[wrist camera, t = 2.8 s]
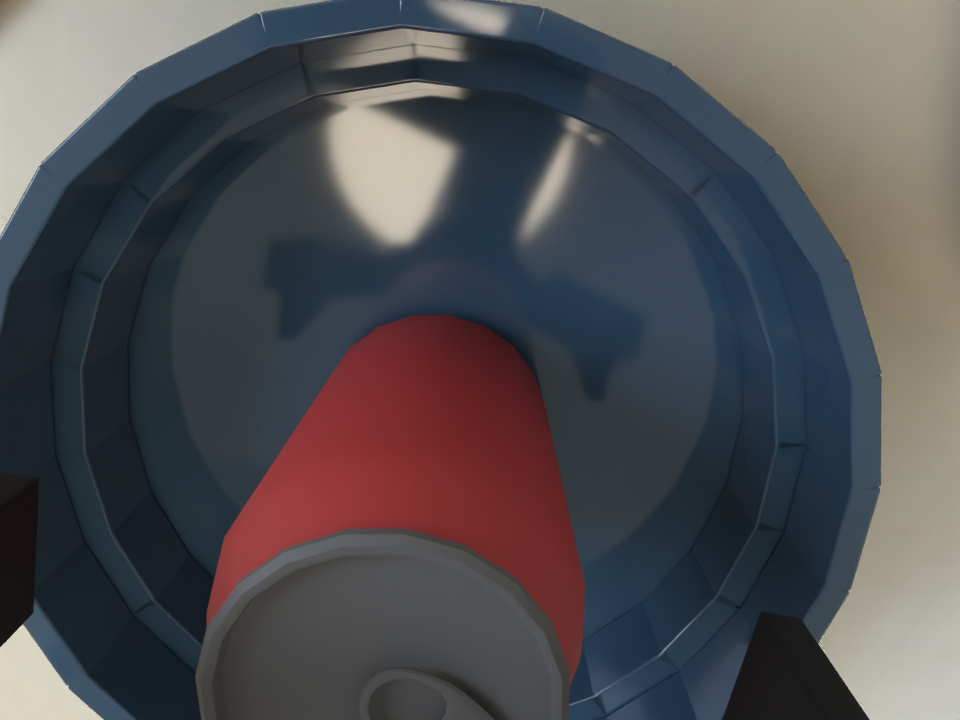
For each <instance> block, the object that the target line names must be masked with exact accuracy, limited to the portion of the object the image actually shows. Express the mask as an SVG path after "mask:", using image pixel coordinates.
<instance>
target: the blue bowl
mask: <svg viewBox="0 0 960 720" xmlns="http://www.w3.org/2000/svg"><path fill="white" fill-rule="evenodd" d="M41 164H42V165H40V166H39V167H38V169H37V171H36V172H35V174H34V176H33V178H32V180H31V181H30V183H29V185H28V187H27V189H26V190H25V192H24V194H23V196H22V198H21V200H20V201H19V203H18V205H17V207H16V209H15V210H14V212H13V214H12V216H11V218H10V219H9V221H8V223H7V225H6V227H5V229H4V230H3V232H2V234H1V236H0V471H1V472H6V473H11V474H17V475H22V476H28V477H33V478H39V501H38V523H37V545H36V568H35V590H34V613H33V614H32V615H31V616H30V617H29V618H28V619H27V620H26V621H25V622H24V623H23V625H24V626H25V628H26V629H27V630H28V632H29V633H30V635H31V636H32V638H33V639H34V640H35V642H36V643H37V645H38V646H39V647H40V649H41V650H42V652H43V653H44V655H45V656H46V657H47V659H48V660H49V662H50V663H51V664H52V666H53V667H54V669H55V670H56V672H57V673H58V674H59V676H60V677H61V679H62V680H63V681H64V683H65V684H66V685H67V686H69V687H68V688H69V689H70V690H71V691H72V692H73V693H74V694H75V695H76V696H78V697H79V698H80V699H81V700H82V701H83V702H84V703H85V704H87V705H88V706H89V707H90V708H91V709H92V710H93V711H95V712H96V713H97V714H98V715H99V716H100V717H101V718H102V719H104V720H201V715H200V708H199V701H198V694H197V687H196V680H195V674H196V670H197V666H198V662H199V658H200V653H201V649H202V645H203V641H204V637H205V633H206V628H207V614H206V613H207V608H208V604H209V600H210V595H211V591H212V587H213V582H214V578H215V574H216V570H217V566H218V561H219V557H220V553H221V549H222V545H223V540H224V537H225V535H226V534H227V532H228V531H229V529H230V528H231V526H232V525H233V523H234V521H235V520H236V518H237V517H238V515H239V514H240V512H241V511H242V509H243V508H244V506H245V505H246V503H247V502H248V500H249V499H250V497H251V496H252V494H253V493H254V491H255V490H256V488H257V487H258V485H259V484H260V482H261V481H262V479H263V477H264V476H265V474H266V473H267V471H268V470H269V468H270V467H271V465H272V464H273V462H274V461H275V459H276V458H277V456H278V455H279V453H280V452H281V450H282V449H283V447H284V446H285V444H286V443H287V441H288V440H289V438H290V437H291V435H292V433H293V432H294V430H295V429H296V427H297V426H298V424H299V423H300V421H301V420H302V418H303V417H304V415H305V414H306V412H307V411H308V409H309V408H310V406H311V405H312V403H313V402H314V400H315V399H316V397H317V396H318V394H319V393H320V391H321V389H322V388H323V386H324V385H325V383H326V382H327V380H328V379H329V377H330V376H331V374H332V373H333V371H334V370H335V368H336V367H337V366H338V364H339V363H340V361H341V360H342V358H343V357H344V355H345V354H346V352H347V351H348V349H349V348H350V347H351V346H353V345H354V344H355V343H357V342H358V341H359V340H361V339H362V338H363V337H365V336H366V335H367V334H369V333H370V332H371V331H373V330H374V329H375V328H377V327H378V326H381V325H384V324H387V323H390V322H393V321H396V320H399V319H402V318H405V317H408V316H411V315H451V316H454V317H457V318H460V319H464V320H467V321H470V322H474V323H477V324H480V325H483V326H485V327H486V328H488V329H489V330H491V331H492V332H494V333H495V334H497V335H498V336H499V337H501V338H502V339H504V340H505V341H507V342H508V343H510V344H511V345H512V346H514V348H515V349H516V350H517V352H518V353H519V354H520V356H521V357H522V358H523V360H524V361H525V362H526V364H527V365H528V366H529V368H530V369H531V370H532V372H533V373H534V375H535V378H536V381H537V384H538V387H539V390H540V393H541V396H542V399H543V402H544V405H545V409H546V413H547V418H548V422H549V427H550V431H551V435H552V440H553V444H554V449H555V453H556V458H557V462H558V467H559V471H560V475H561V480H562V484H563V489H564V493H565V498H566V502H567V506H568V511H569V515H570V520H571V524H572V529H573V533H574V538H575V542H576V546H577V551H578V555H579V560H580V564H581V569H582V573H583V577H584V582H585V601H584V633H583V642H582V649H581V656H580V662H579V664H578V667H577V669H576V672H575V674H574V677H573V679H572V682H571V684H570V687H569V720H722V718H723V716H724V713H725V710H726V707H727V704H728V702H729V699H730V696H731V693H732V690H733V688H734V685H735V682H736V679H737V676H738V674H739V671H740V668H741V665H742V662H743V660H744V657H745V654H746V651H747V648H748V646H749V643H750V640H751V637H752V634H753V632H754V629H755V626H756V623H757V620H758V618H759V615H760V612H761V611H764V612H769V613H774V614H780V615H785V616H791V617H796V618H801V619H802V621H803V622H804V624H805V625H806V627H807V628H808V630H809V631H810V633H811V634H812V636H813V637H814V639H815V640H816V642H817V643H819V641H820V639H821V638H822V636H823V635H824V633H825V631H826V630H827V628H828V626H829V625H830V623H831V622H832V620H833V618H834V617H835V615H836V614H837V612H838V610H839V609H840V607H841V606H842V604H843V602H844V601H845V599H846V597H847V596H848V594H849V590H850V589H851V587H852V583H853V580H854V577H855V573H856V570H857V567H858V563H859V560H860V557H861V553H862V550H863V546H864V543H865V540H866V536H867V533H868V530H869V526H870V523H871V519H872V516H873V513H874V509H875V506H876V503H877V499H878V496H879V492H880V488H879V487H880V485H881V376H880V374H881V370H880V366H879V363H878V359H877V356H876V353H875V349H874V346H873V342H872V339H871V336H870V332H869V329H868V325H867V322H866V318H865V315H864V312H863V308H862V305H861V301H860V298H859V295H858V291H857V288H856V284H855V281H854V278H853V274H852V271H851V267H850V264H849V261H848V260H847V259H846V256H845V254H844V252H843V251H842V249H841V248H840V246H839V245H838V243H837V242H836V240H835V239H834V237H833V236H832V234H831V232H830V231H829V229H828V228H827V226H826V225H825V223H824V222H823V220H822V219H821V217H820V216H819V214H818V213H817V211H816V210H815V208H814V207H813V205H812V203H811V202H810V200H809V199H808V197H807V196H806V194H805V193H804V191H803V190H802V188H801V187H800V185H799V184H798V182H797V181H796V179H795V178H794V176H793V174H792V173H791V171H790V170H789V168H788V167H787V165H786V164H785V162H784V161H783V159H782V158H781V156H780V155H779V154H778V153H776V151H775V149H774V148H773V147H772V146H771V145H769V144H768V143H767V142H766V141H765V140H763V139H762V138H761V137H760V136H759V135H758V134H756V133H755V132H754V131H753V130H752V129H750V128H749V127H748V126H747V125H746V124H744V123H743V122H742V121H741V120H740V119H738V118H737V117H736V116H735V115H734V114H733V113H731V112H730V111H729V110H728V109H727V108H725V107H724V106H723V105H722V104H721V103H719V102H718V101H717V100H716V99H715V98H713V97H712V96H711V95H710V94H709V93H708V92H706V91H705V90H704V89H703V88H702V87H700V86H699V85H698V84H697V83H696V82H694V81H693V80H692V79H691V78H690V77H689V76H687V75H686V74H685V73H684V72H683V71H681V70H680V69H679V68H678V67H677V66H674V65H673V66H672V64H671V62H668V61H666V60H664V59H662V58H659V57H657V56H655V55H652V54H650V53H648V52H645V51H643V50H641V49H639V48H636V47H634V46H632V45H629V44H627V43H625V42H623V41H620V40H618V39H616V38H613V37H611V36H609V35H606V34H604V33H602V32H600V31H597V30H595V29H593V28H590V27H588V26H586V25H584V24H581V23H579V22H577V21H574V20H572V19H570V18H567V17H565V16H563V15H561V14H558V13H556V12H554V11H551V10H549V9H547V8H544V9H543V10H542V8H541V7H540V6H532V5H524V4H516V3H508V2H500V1H492V0H330V1H324V2H318V3H312V4H306V5H300V6H294V7H288V8H282V9H276V10H270V11H264V12H261V13H260V14H258V13H256V14H254V15H252V16H250V17H248V18H246V19H244V20H242V21H240V22H238V23H236V24H234V25H232V26H230V27H228V28H226V29H224V30H222V31H219V32H217V33H215V34H213V35H211V36H209V37H207V38H205V39H203V40H201V41H199V42H197V43H195V44H193V45H191V46H189V47H187V48H185V49H183V50H181V51H179V52H177V53H175V54H173V55H171V56H169V57H167V58H165V59H163V60H161V61H159V62H157V63H155V64H153V65H151V66H149V67H146V68H144V69H142V70H140V71H138V72H137V73H136V75H133V76H132V77H131V78H130V79H128V80H127V81H126V82H125V83H124V84H123V85H122V86H121V87H120V88H119V89H118V90H117V91H116V92H115V93H114V94H113V95H112V96H111V97H110V98H109V99H107V100H106V101H105V102H104V103H103V104H102V105H101V106H100V107H99V108H98V109H97V110H96V111H95V112H94V113H93V114H92V115H91V116H90V117H89V118H87V119H86V120H85V121H84V122H83V123H82V124H81V125H80V126H79V127H78V128H77V129H76V130H75V131H74V132H73V133H72V134H71V135H70V136H69V137H67V138H66V139H65V140H64V141H63V142H62V143H61V144H60V145H59V146H58V147H57V148H56V149H55V150H54V151H53V152H52V153H51V154H50V155H49V156H47V157H46V158H45V159H44V160H43V161H42V163H41Z"/></svg>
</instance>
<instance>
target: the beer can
mask: <svg viewBox="0 0 960 720" xmlns="http://www.w3.org/2000/svg"><path fill="white" fill-rule="evenodd" d="M584 601H585V582H584V577H583V573H582V569H581V564H580V560H579V555H578V551H577V546H576V542H575V538H574V533H573V529H572V524H571V520H570V515H569V511H568V506H567V502H566V498H565V493H564V489H563V484H562V480H561V475H560V471H559V467H558V462H557V458H556V453H555V449H554V444H553V440H552V435H551V431H550V427H549V422H548V418H547V413H546V409H545V405H544V402H543V399H542V396H541V393H540V390H539V387H538V384H537V381H536V378H535V375H534V373H533V372H532V370H531V369H530V368H529V366H528V365H527V364H526V362H525V361H524V360H523V358H522V357H521V356H520V354H519V353H518V352H517V350H516V349H515V348H514V346H512V345H511V344H510V343H508V342H507V341H505V340H504V339H502V338H501V337H499V336H498V335H497V334H495V333H494V332H492V331H491V330H489V329H488V328H486V327H485V326H483V325H480V324H477V323H474V322H470V321H467V320H464V319H460V318H457V317H454V316H451V315H411V316H408V317H405V318H402V319H399V320H396V321H393V322H390V323H387V324H384V325H381V326H378V327H377V328H375V329H374V330H373V331H371V332H370V333H369V334H367V335H366V336H365V337H363V338H362V339H361V340H359V341H358V342H357V343H355V344H354V345H353V346H351V347H350V348H349V349H348V351H347V352H346V354H345V355H344V357H343V358H342V360H341V361H340V363H339V364H338V366H337V367H336V368H335V370H334V371H333V373H332V374H331V376H330V377H329V379H328V380H327V382H326V383H325V385H324V386H323V388H322V389H321V391H320V393H319V394H318V396H317V397H316V399H315V400H314V402H313V403H312V405H311V406H310V408H309V409H308V411H307V412H306V414H305V415H304V417H303V418H302V420H301V421H300V423H299V424H298V426H297V427H296V429H295V430H294V432H293V433H292V435H291V437H290V438H289V440H288V441H287V443H286V444H285V446H284V447H283V449H282V450H281V452H280V453H279V455H278V456H277V458H276V459H275V461H274V462H273V464H272V465H271V467H270V468H269V470H268V471H267V473H266V474H265V476H264V477H263V479H262V481H261V482H260V484H259V485H258V487H257V488H256V490H255V491H254V493H253V494H252V496H251V497H250V499H249V500H248V502H247V503H246V505H245V506H244V508H243V509H242V511H241V512H240V514H239V515H238V517H237V518H236V520H235V521H234V523H233V525H232V526H231V528H230V529H229V531H228V532H227V534H226V535H225V537H224V540H223V545H222V549H221V553H220V557H219V561H218V566H217V570H216V574H215V578H214V582H213V587H212V591H211V595H210V600H209V604H208V608H207V613H206V614H207V628H206V633H205V637H204V641H203V645H202V649H201V653H200V658H199V662H198V666H197V670H196V674H195V680H196V687H197V694H198V701H199V708H200V715H201V720H569V687H570V684H571V682H572V679H573V677H574V674H575V672H576V669H577V667H578V664H579V662H580V656H581V649H582V642H583V633H584Z"/></svg>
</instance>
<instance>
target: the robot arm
mask: <svg viewBox="0 0 960 720" xmlns="http://www.w3.org/2000/svg"><path fill="white" fill-rule="evenodd" d="M38 501H39V478H33V477H28V476H22V475H17V474H11V473H6V472H1V471H0V647H1V646H2V645H3V644H4V643H5V642H6V641H7V640H8V639H9V638H10V637H11V636H12V635H13V633H14V632H15V631H16V630H17V629H18V628H19V627H20V626H21V625H22V624H23V623H24V622H25V621H26V620H27V619H28V618H29V617H30V616H31V615H32V614H33V613H34V590H35V568H36V545H37V523H38ZM722 720H869V718H868V717H867V715H866V714H865V712H864V711H863V709H862V708H861V707H860V705H859V704H858V702H857V701H856V699H855V698H854V696H853V695H852V693H851V692H850V690H849V689H848V687H847V686H846V684H845V683H844V681H843V680H842V678H841V677H840V676H839V674H838V673H837V671H836V670H835V668H834V667H833V665H832V664H831V662H830V661H829V659H828V658H827V656H826V655H825V653H824V652H823V650H822V649H821V647H820V646H819V645H818V643H817V642H816V640H815V639H814V637H813V636H812V634H811V633H810V631H809V630H808V628H807V627H806V625H805V624H804V622H803V621H802V619H801V618H796V617H791V616H785V615H780V614H774V613H769V612H764V611H761V612H760V615H759V618H758V620H757V623H756V626H755V629H754V632H753V634H752V637H751V640H750V643H749V646H748V648H747V651H746V654H745V657H744V660H743V662H742V665H741V668H740V671H739V674H738V676H737V679H736V682H735V685H734V688H733V690H732V693H731V696H730V699H729V702H728V704H727V707H726V710H725V713H724V716H723V718H722Z"/></svg>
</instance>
